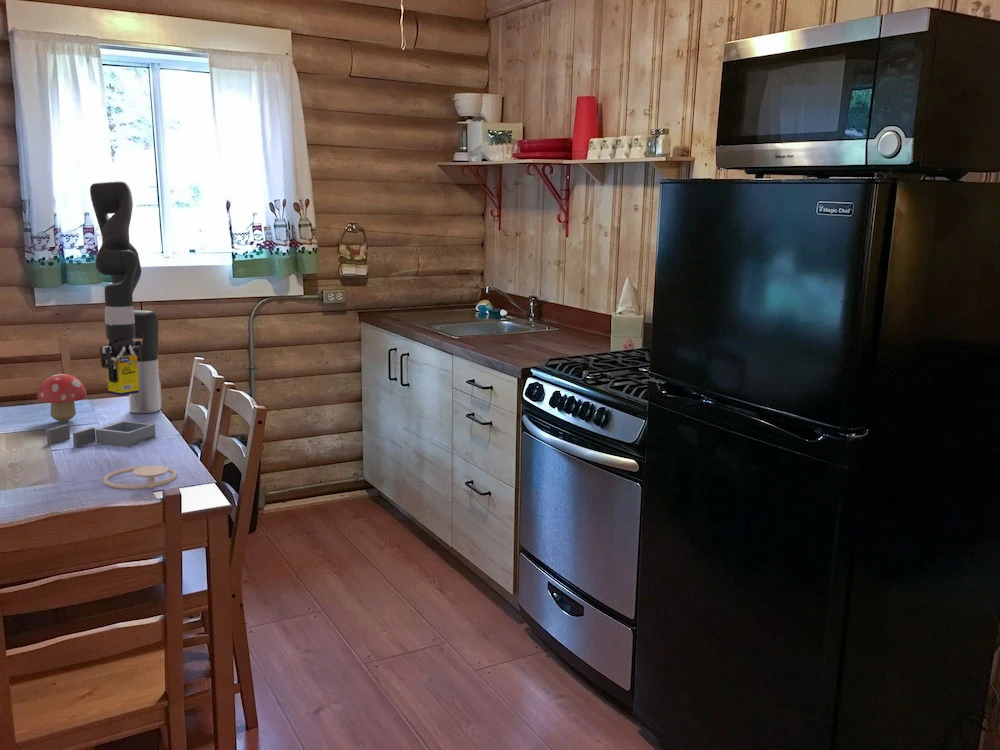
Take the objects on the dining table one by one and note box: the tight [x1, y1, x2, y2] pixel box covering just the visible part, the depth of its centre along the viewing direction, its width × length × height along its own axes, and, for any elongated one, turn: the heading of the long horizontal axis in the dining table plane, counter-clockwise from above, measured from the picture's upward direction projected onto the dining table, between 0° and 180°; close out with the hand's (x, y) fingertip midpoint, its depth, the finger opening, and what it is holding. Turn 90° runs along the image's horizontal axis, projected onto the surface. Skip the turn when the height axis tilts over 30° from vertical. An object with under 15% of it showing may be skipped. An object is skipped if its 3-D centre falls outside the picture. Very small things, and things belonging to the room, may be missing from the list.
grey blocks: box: [46, 423, 96, 448], centre depth 232 cm, size 7×10×4 cm
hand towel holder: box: [102, 465, 178, 490], centre depth 202 cm, size 17×4×20 cm
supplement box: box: [106, 355, 139, 396], centre depth 233 cm, size 6×6×11 cm
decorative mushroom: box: [36, 373, 87, 423], centre depth 253 cm, size 13×13×15 cm
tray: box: [95, 420, 156, 448], centre depth 236 cm, size 11×11×4 cm
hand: (122, 379), depth 233 cm, fingers closed on supplement box, 7 cm apart
